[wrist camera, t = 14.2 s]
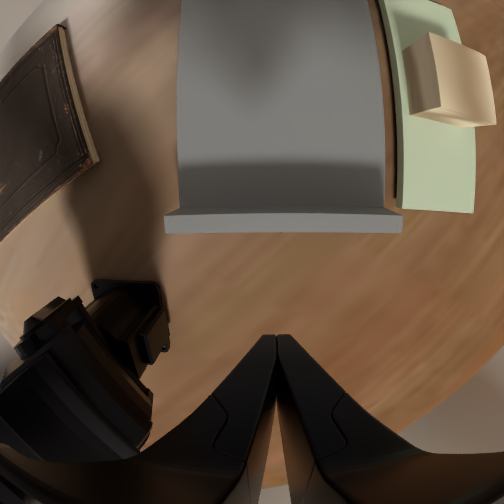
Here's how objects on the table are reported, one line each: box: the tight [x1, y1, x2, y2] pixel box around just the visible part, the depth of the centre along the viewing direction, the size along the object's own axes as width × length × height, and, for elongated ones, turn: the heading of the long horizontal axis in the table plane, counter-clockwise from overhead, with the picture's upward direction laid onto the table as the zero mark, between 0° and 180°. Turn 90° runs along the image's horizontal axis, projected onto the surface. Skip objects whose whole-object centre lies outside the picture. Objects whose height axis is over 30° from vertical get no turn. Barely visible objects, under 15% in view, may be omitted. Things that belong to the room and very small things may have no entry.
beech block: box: [402, 32, 496, 128], centre depth 12 cm, size 5×5×4 cm
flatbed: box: [164, 0, 403, 234], centre depth 14 cm, size 13×20×4 cm, turn 1°
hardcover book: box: [0, 24, 100, 243], centre depth 18 cm, size 16×23×2 cm
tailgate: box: [378, 0, 476, 213], centre depth 15 cm, size 1×18×7 cm
